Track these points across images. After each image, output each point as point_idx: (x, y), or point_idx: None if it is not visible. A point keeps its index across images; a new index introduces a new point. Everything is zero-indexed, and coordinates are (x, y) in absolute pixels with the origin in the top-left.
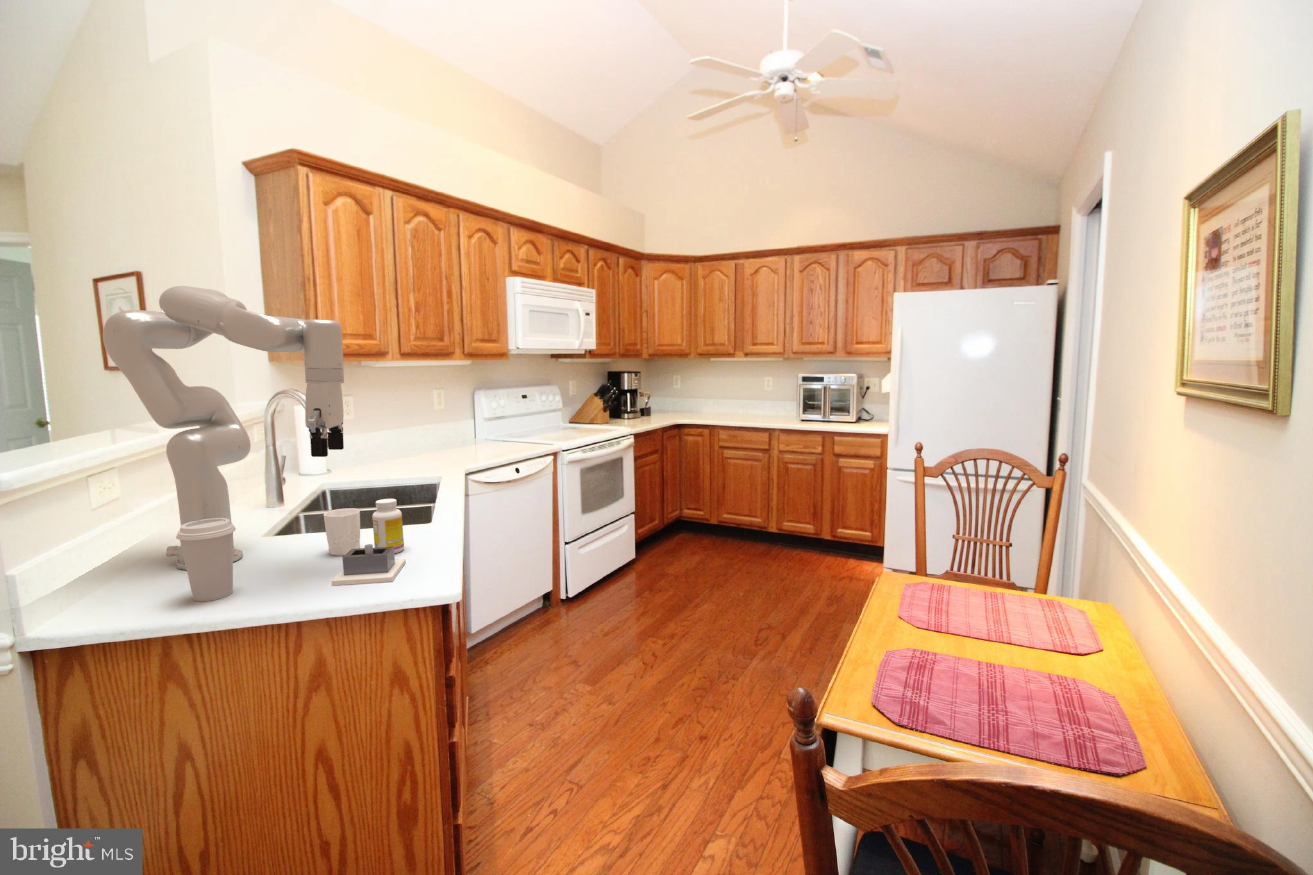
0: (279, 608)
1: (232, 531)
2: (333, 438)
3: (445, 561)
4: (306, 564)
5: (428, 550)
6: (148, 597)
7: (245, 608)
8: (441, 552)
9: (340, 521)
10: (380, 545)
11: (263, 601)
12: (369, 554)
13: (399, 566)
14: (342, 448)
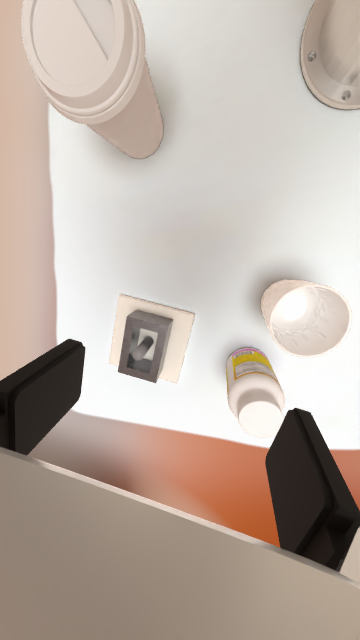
0: (62, 241)
1: (79, 121)
2: (294, 486)
3: (164, 421)
4: (238, 248)
5: (224, 411)
6: (167, 5)
7: (73, 197)
8: (205, 424)
9: (267, 317)
10: (231, 360)
11: (91, 215)
12: (128, 351)
13: None
14: (268, 464)
